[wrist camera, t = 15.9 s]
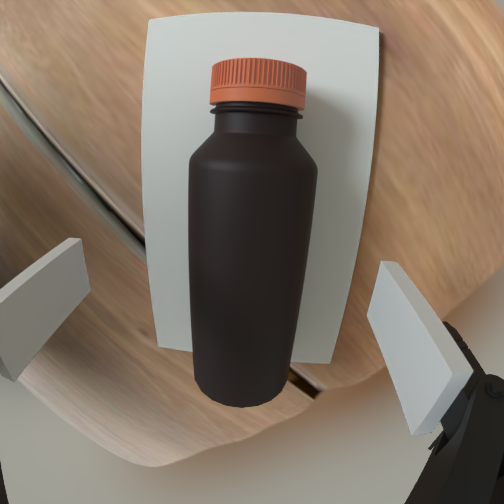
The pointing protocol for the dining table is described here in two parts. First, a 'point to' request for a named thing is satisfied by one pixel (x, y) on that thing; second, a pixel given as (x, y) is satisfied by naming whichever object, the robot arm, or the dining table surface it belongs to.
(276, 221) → the vinegar
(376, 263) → the dining table surface
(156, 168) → the mat
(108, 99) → the dining table surface
